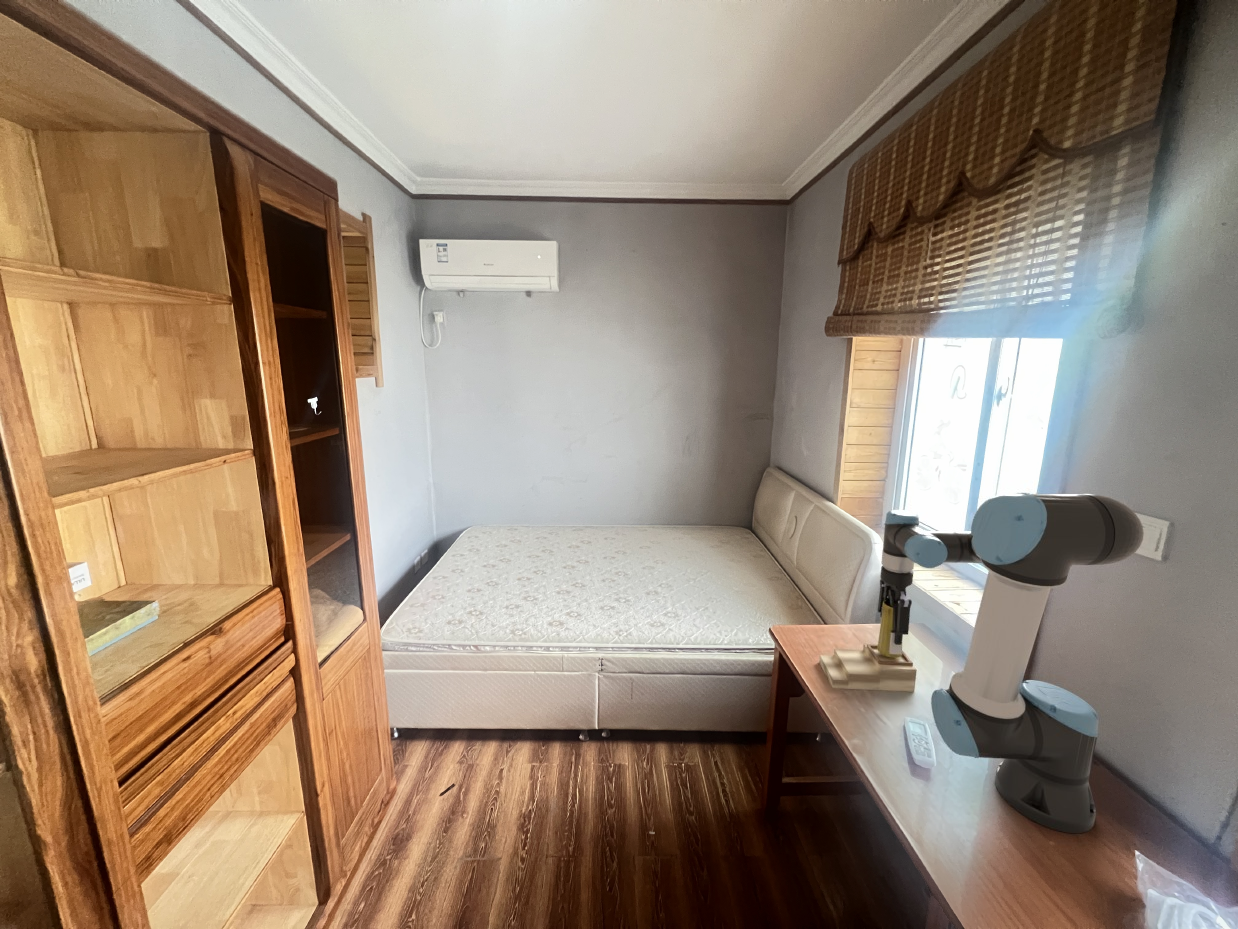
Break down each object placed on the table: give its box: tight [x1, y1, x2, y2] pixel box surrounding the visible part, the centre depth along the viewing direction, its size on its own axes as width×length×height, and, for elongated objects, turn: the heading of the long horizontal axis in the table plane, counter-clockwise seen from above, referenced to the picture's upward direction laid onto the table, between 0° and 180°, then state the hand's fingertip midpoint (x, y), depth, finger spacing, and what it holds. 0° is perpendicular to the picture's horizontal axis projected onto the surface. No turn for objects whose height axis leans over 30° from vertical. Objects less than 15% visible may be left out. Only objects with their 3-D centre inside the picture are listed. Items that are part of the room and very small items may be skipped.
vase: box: [877, 600, 903, 658], centre depth 135 cm, size 6×6×14 cm
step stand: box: [818, 643, 917, 693], centre depth 138 cm, size 12×21×7 cm, turn 84°
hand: (889, 646), depth 137 cm, fingers closed on vase, 6 cm apart
